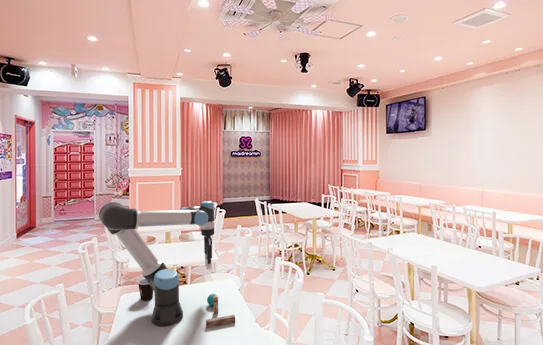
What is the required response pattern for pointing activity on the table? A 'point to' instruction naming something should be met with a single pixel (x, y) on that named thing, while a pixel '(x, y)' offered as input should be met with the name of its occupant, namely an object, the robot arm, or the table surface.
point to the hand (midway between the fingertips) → (208, 267)
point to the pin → (215, 304)
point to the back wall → (220, 321)
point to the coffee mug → (145, 290)
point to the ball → (211, 299)
